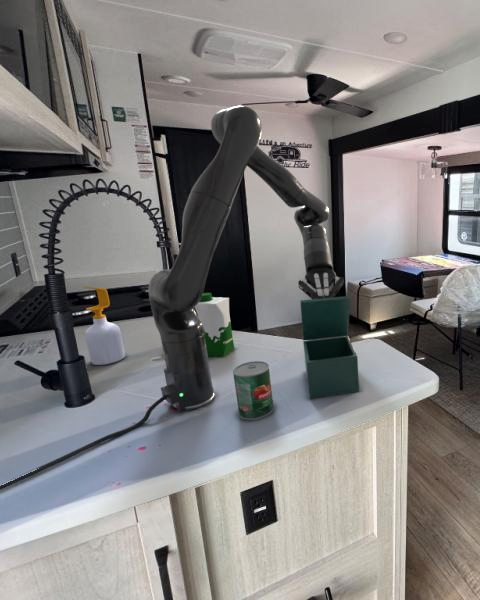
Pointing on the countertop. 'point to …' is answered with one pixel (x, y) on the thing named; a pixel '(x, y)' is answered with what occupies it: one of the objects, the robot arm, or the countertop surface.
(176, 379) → the robot arm
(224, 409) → the countertop surface
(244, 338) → the countertop surface
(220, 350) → the milk carton
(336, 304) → the case lid
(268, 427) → the countertop surface
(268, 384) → the canned tomato
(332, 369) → the case
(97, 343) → the spray bottle
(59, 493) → the countertop surface
